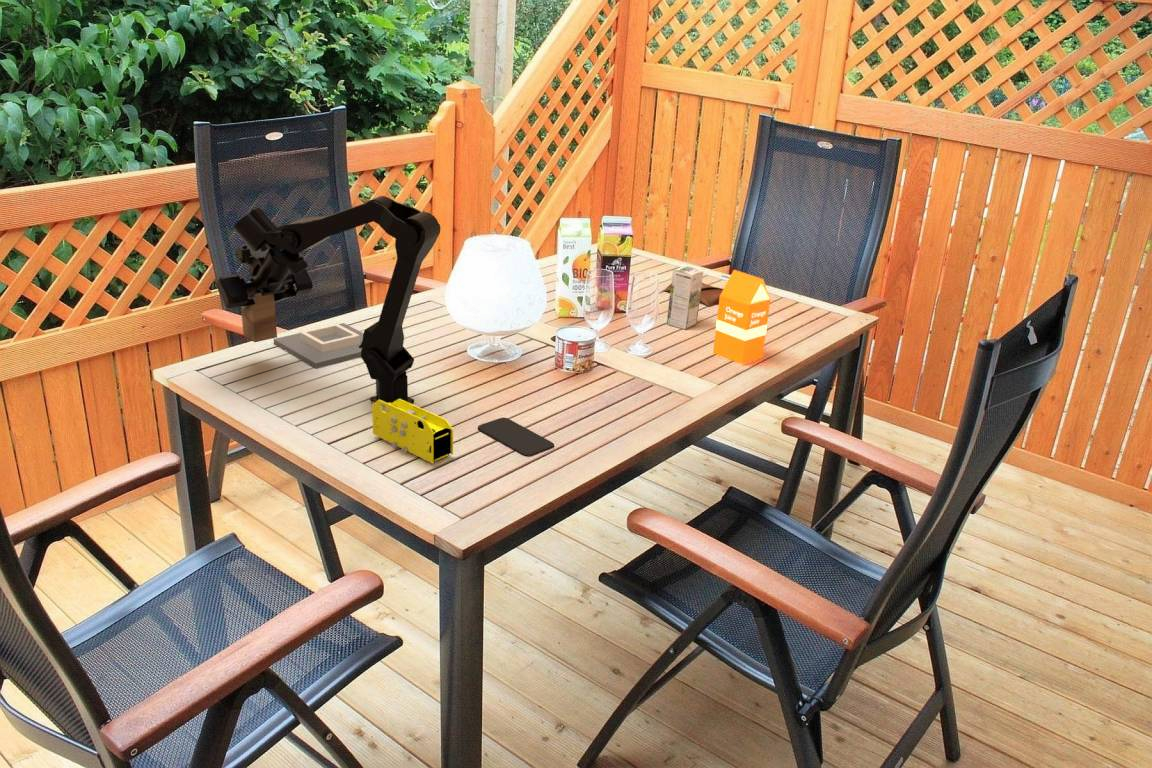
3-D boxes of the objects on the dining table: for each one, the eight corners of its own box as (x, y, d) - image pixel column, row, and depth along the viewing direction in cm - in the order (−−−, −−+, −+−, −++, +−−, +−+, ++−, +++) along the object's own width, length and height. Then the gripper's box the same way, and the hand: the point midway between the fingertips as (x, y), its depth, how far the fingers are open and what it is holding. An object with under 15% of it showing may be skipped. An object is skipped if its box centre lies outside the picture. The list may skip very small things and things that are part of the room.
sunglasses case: (659, 290, 269) (669, 268, 269) (671, 298, 274) (681, 277, 274) (710, 307, 258) (720, 284, 258) (722, 315, 263) (732, 293, 263)
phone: (526, 456, 173) (474, 426, 182) (526, 460, 173) (474, 430, 183) (557, 444, 178) (504, 416, 187) (556, 448, 178) (504, 420, 188)
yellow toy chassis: (371, 438, 177) (369, 397, 174) (394, 429, 181) (394, 388, 178) (430, 468, 168) (430, 425, 164) (454, 457, 172) (454, 415, 169)
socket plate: (387, 350, 217) (386, 336, 216) (315, 368, 205) (315, 354, 204) (343, 327, 228) (343, 315, 227) (274, 343, 217) (273, 330, 215)
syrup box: (677, 319, 247) (683, 264, 242) (697, 324, 244) (703, 269, 238) (666, 324, 243) (671, 269, 237) (686, 330, 240) (692, 274, 234)
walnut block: (277, 337, 202) (273, 291, 198) (254, 342, 199) (251, 296, 195) (265, 330, 206) (261, 285, 202) (243, 335, 202) (239, 290, 198)
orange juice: (741, 365, 220) (752, 281, 212) (712, 353, 226) (722, 271, 218) (763, 358, 225) (774, 276, 217) (734, 347, 231) (744, 266, 223)
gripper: (303, 225, 197) (280, 264, 208) (215, 238, 184) (196, 279, 196) (325, 271, 195) (301, 309, 206) (238, 287, 182) (217, 326, 194)
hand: (254, 304), depth 201 cm, fingers closed on walnut block, 5 cm apart
